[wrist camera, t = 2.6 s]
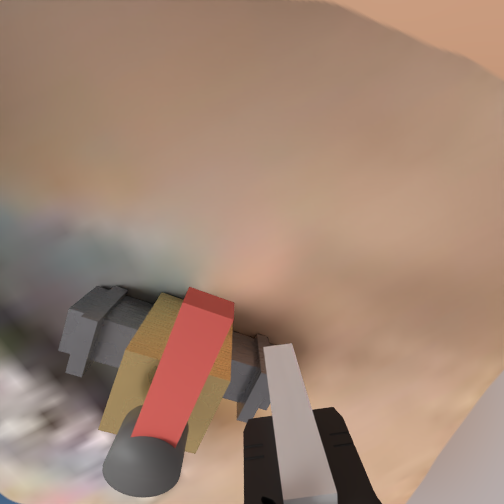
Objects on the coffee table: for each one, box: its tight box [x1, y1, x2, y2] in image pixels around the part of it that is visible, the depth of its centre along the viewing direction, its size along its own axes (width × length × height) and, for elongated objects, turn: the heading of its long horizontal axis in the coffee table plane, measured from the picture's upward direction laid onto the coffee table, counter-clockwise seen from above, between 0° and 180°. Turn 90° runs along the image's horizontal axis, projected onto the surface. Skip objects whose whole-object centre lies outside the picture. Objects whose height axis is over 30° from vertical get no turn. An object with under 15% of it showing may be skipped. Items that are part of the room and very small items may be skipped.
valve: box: [58, 286, 275, 454], centre depth 21 cm, size 18×7×10 cm, turn 67°
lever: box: [103, 287, 234, 497], centre depth 14 cm, size 12×4×2 cm, turn 157°
